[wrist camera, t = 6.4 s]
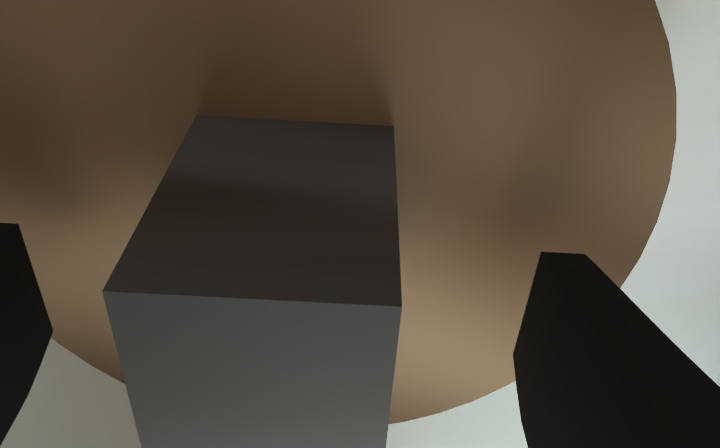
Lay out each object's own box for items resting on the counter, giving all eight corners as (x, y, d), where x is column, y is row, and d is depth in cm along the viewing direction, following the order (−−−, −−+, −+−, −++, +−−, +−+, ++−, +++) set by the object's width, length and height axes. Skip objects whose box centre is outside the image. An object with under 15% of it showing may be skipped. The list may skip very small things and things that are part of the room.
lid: (559, 406, 15) (628, 646, 11) (45, 379, 15) (-82, 612, 11) (782, -219, 8) (1223, -214, 4) (-191, -278, 8) (-829, -337, 4)
